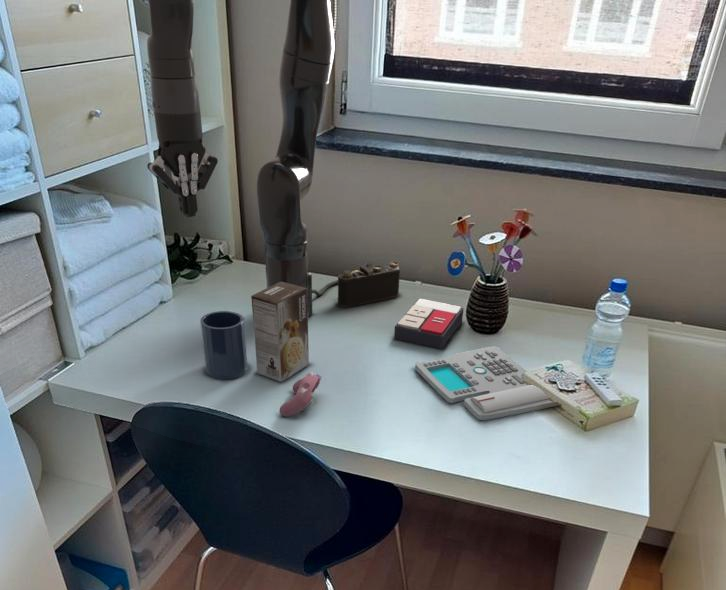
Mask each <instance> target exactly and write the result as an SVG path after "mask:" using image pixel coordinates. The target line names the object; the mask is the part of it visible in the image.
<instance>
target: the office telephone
mask: <svg viewBox="0 0 726 590" xmlns="http://www.w3.org/2000/svg"><path fill="white" fill-rule="evenodd" d="M414 365H415V367H414V370H415V371H416V372H417V373H418V374H419V375H420V376H421V377H422V378H423V380H425V381H426V382H427V383H428V384H429V385H430V386H431V387H432V388H433V389H434V390H435V391H436V392H437V393H438V394H439V396H441V397H442V398H443V399H444V400H445V401H446V402H447V403H448V404H455V403H457V402H461V401H464V402H463V406H464V407H465V408H466V409H467V410H468V412H470V414H472V416H474V417H475V418H476V419H477V420H478V421H488V420H493V419H498V418H504V417H507V416H515V415H519V414H520V415H521V414H525V413H529V412H534V411H538V410H543V409H547V408H553V407H558V406H561V405H562V403H561V404H559V403H558V402H552V401H550V400H549V397H548V396H547V394H545V393H544V392H543V391H542V390H541V389H540V388H538V387H536V386H534V385H526V384H525V383H524V382H523V381H522V379H521V375H522V374H523V373H525V372H528V371H527V370H526V369H524V367H522V366H521V365H519V364H518V363H517V362H516V361H515V360H514V359H512V358H511V357H509V356H508V355H507V354H506V353H505V352H504V351H503V350H502V349H501V348H499V347H498V346H497V345H493V346H486V347H481V348H476V349H472V350H467V351H461V352H456V353H453V354H451V355H450V356H447V357H443V358H439V359H434V360H433V359H432V360H429V361H423V362H415V364H414Z"/></svg>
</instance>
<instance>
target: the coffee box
mask: <svg viewBox="0 0 726 590" xmlns="http://www.w3.org/2000/svg"><path fill="white" fill-rule="evenodd" d="M250 296H251V298H250V299H251V308H252V309H251V310H252V322H253V335H254V336H253V337H254V347H255V348H254V349H255V360H256V362H255V363H256V374H258V375H261V376H263V377H266V378H269V379H272V380H275V381H278V382H280V383H283V382H285V381H286V380H287V379H289V378H290V377H292V376H293V375H295V374H296V373H298V372H300V371H301V370H303V369H304V368H306V367H307V366H309V364H310V354H309V353H310V352H309V351H310V350H309V348H310V347H309V317H308V307H307V288H304V287H300V286H297V285H293V284H288V283H285V282H279V283H277V284H275V285H273V286H271V287H269V288H267V287H266V288H264V289H262V290H260V291H258V292H256V293H254V294H252V295H250Z"/></svg>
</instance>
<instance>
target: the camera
mask: <svg viewBox="0 0 726 590" xmlns="http://www.w3.org/2000/svg"><path fill="white" fill-rule="evenodd" d="M359 270H360V271H359ZM400 275H401V267H400V266H399V263H398V262H396V261H391V262H390V263H389V265H387V266H386V265H385V266H380V265H374V266H373V268H369V267H367V266H366V265H365V266H363V265H360V266H359V269H358V270H357V269H356V270H350V269H346V270H344V271H343V274H342V273H341V274H339V275H337V280H338V284H337V306H339V307H340V308H350V307H355V306H360V305H364V304H368V303H369V304H370V303H375V302H379V301H384V300H389V299H394V298H395V299H396V298H398V297H399V296H400V293H399V291H400Z"/></svg>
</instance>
